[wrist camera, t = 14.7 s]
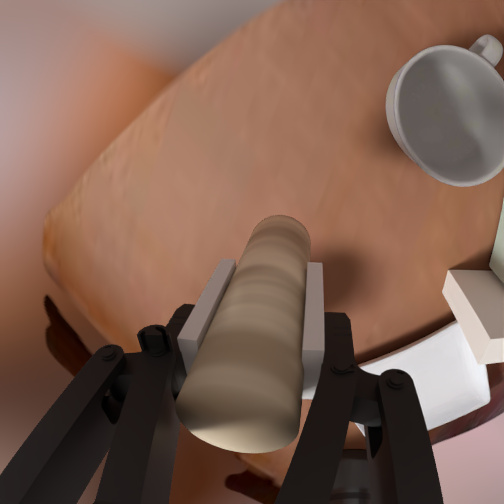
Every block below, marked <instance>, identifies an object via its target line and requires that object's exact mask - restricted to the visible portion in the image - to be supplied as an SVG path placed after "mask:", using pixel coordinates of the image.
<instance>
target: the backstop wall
mask: <svg viewBox="0 0 504 504" xmlns="http://www.w3.org/2000/svg"><path fill="white" fill-rule="evenodd" d="M442 293H443V295H444V297H445V298H446V300H447V302H448V304H449V306H450V308H451V310H452V312H453V314H454V315H455V317H456V319H457V321H458V323H459V325H460V327H461V329H462V331H463V333H464V335H465V338H466V340H467V342H468V344H469V346H470V348H471V350H472V352H473V355H474V357H475V359H476V361H477V364H478V365H483V364H492V363H499V362H504V284H503V282H502V281H501V280H500V279H499V277H498V276H497V275H496V274H495V273H494V271H488V270H448V272H447V276H446V280H445V284H444V288H443V291H442Z"/></svg>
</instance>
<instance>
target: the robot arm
mask: <svg viewBox="0 0 504 504" xmlns="http://www.w3.org/2000/svg"><path fill="white" fill-rule="evenodd" d="M235 270H236V260H235V259H221V261H220V262H219V264H218V266H217V268H216V269H215V271H214V273H213V275H212V276H211V278H210V280H209V282H208V284H207V285H206V287H205V289H204V291H203V292H202V294H201V296H200V298H199V300H198V301H197V303H196V305H192V304H183V305H182V306H181V307H179V308H178V309H176V311H175V313H174V314H173V316H172V318H171V319H170V321H169V323H168V324H167V325H166V327H164V326H163V325H150V326H147V327H144V328H143V329H142V330H140V331H139V332H138V334H137V337H138V340H139V343H140V346H141V349H142V352H137V353H124V351H123V349H122V348H121V347H120V346H118V345H112V344H111V345H105V346H103V347H101V348H100V349H98V350H97V351H96V353H95V354H94V355H93V356H92V357H91V358H90V360H89V361H88V362H87V363H86V364H85V366H84V367H83V368H82V369H81V370H80V372H79V373H78V374H77V375H76V377H75V378H74V379H73V380H72V381H71V383H70V384H69V385H68V386H67V388H66V389H65V390H64V391H63V393H62V394H61V395H60V396H59V398H58V399H57V400H56V402H55V403H54V404H53V405H52V406H51V408H50V409H49V410H48V412H47V413H46V414H45V416H44V417H43V418H42V419H41V421H40V422H39V423H38V425H37V426H36V427H35V429H34V430H33V431H32V432H31V434H30V435H29V436H28V438H27V439H26V440H25V442H24V443H23V444H22V446H21V447H20V449H19V450H18V451H17V453H16V454H15V455H14V457H13V458H12V459H11V461H10V462H9V464H8V465H7V466H6V468H5V469H4V471H3V472H2V474H1V475H0V504H77V502H78V500H79V499H80V497H81V495H82V494H83V492H84V490H85V488H86V487H87V485H88V483H89V482H90V480H91V478H92V477H93V475H94V473H95V472H96V470H97V468H98V466H99V465H100V463H101V462H102V460H103V458H104V457H105V455H106V453H107V452H108V450H109V452H108V456H107V460H106V463H105V467H104V470H103V474H102V477H101V481H100V484H99V489H98V492H97V496H96V499H95V502H94V503H93V504H169V496H170V489H171V482H172V474H173V467H174V460H175V454H176V448H177V441H178V435H179V429H180V422H181V421H180V420H179V418H178V416H177V414H176V410H175V403H176V399H177V397H178V395H179V393H180V391H181V388H182V386H183V384H184V382H185V379H186V377H187V375H188V373H189V371H190V368H191V366H192V364H193V362H194V359H195V357H196V355H197V353H198V351H199V348H200V346H201V344H202V342H203V340H204V337H205V335H206V333H207V331H208V329H209V326H210V324H211V322H212V320H213V318H214V315H215V313H216V311H217V309H218V307H219V304H220V302H221V300H222V298H223V296H224V294H225V291H226V289H227V287H228V285H229V283H230V280H231V278H232V276H233V274H234V272H235ZM302 363H303V367H304V383H303V395H302V399H313V400H312V403H311V406H310V409H309V412H308V415H307V418H306V421H305V424H304V427H303V430H302V433H301V436H300V439H299V442H298V444H297V447H296V450H295V453H294V455H293V458H292V461H291V463H290V466H289V469H288V471H287V474H286V476H285V479H284V482H283V484H282V487H281V489H280V491H279V494H278V496H277V499H276V501H275V504H444V503H443V497H442V492H441V487H440V482H439V477H438V472H437V468H436V463H435V459H434V455H433V451H432V446H431V442H430V438H429V434H428V430H427V427H426V423H425V419H424V416H423V412H422V409H421V405H420V402H419V398H418V395H417V392H416V388H415V385H414V382H413V379H412V378H411V376H410V375H409V374H408V373H407V372H405V371H403V370H400V369H389V370H386V371H384V372H382V373H381V375H376V374H372V373H369V372H366V371H364V370H362V369H361V368H360V367H359V366H358V365H357V363H356V362H355V358H354V348H353V339H352V331H351V323H350V319H349V318H348V316H347V315H346V314H345V313H337V312H324V293H323V267H322V263H316V262H308V264H307V286H306V304H305V320H304V335H303V348H302ZM107 391H108V392H107ZM349 421H351V422H355V423H358V424H362V425H364V431H365V440H366V449H367V451H366V450H343V447H344V443H345V439H346V434H347V430H348V425H349ZM109 448H110V449H109Z"/></svg>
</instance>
